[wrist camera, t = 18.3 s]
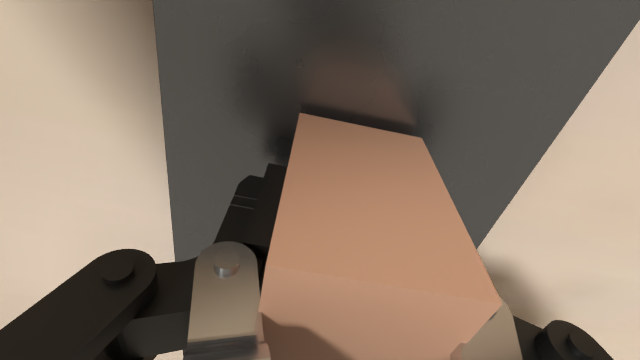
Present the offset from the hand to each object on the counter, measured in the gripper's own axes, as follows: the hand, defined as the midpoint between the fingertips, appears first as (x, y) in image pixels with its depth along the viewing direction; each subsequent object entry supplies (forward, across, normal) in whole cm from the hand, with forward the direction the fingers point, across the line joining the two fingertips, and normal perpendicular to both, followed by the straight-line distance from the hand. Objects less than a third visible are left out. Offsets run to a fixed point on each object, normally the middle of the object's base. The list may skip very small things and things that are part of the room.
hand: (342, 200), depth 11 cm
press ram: (+1, 0, 0) cm, 1 cm away
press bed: (+3, 0, +4) cm, 5 cm away
